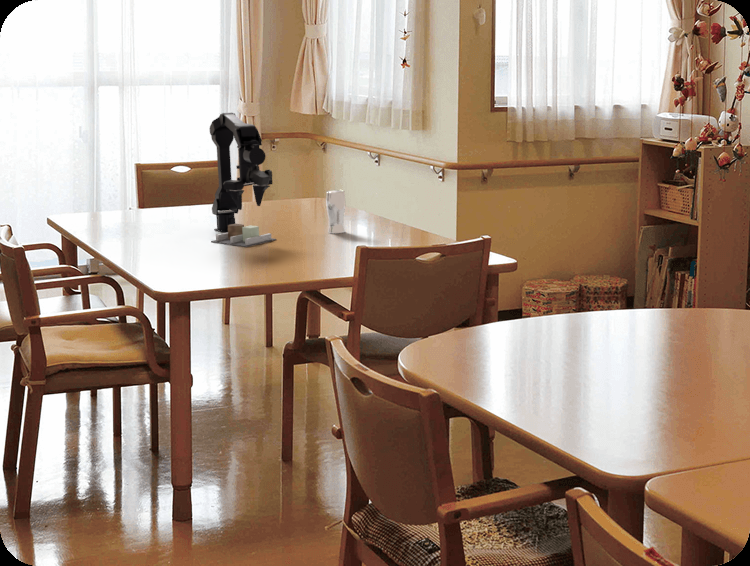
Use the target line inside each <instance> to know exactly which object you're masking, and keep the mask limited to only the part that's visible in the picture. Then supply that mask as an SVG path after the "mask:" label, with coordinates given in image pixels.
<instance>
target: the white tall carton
mask: <svg viewBox="0 0 750 566" xmlns="http://www.w3.org/2000/svg"><path fill="white" fill-rule="evenodd" d="M325 195H326V196H325V206H326V213H327V218H328V229H327V230H328V231H327V233H328V234H332V235H339V234H345V233H346V229H345V225H344V220H345V212H346V194H345V190H342V189H333V190H332V189H331V190H326V194H325Z"/></svg>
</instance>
